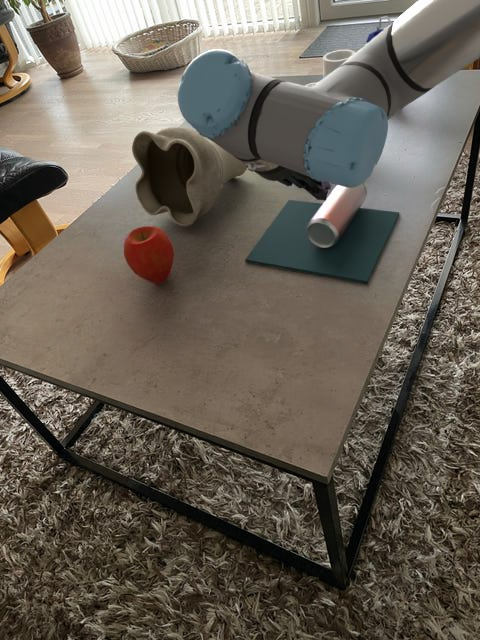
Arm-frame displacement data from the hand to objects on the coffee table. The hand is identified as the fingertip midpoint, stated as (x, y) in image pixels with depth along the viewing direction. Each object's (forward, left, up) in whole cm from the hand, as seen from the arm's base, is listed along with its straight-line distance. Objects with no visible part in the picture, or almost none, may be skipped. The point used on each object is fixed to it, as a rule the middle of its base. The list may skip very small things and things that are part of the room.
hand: (323, 191), depth 80 cm
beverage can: (0, +3, -7) cm, 7 cm away
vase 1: (+29, -9, -10) cm, 32 cm away
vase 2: (+11, -33, -10) cm, 36 cm away
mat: (+1, -1, -10) cm, 10 cm away
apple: (+25, +18, -10) cm, 32 cm away
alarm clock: (+5, -59, -10) cm, 60 cm away
